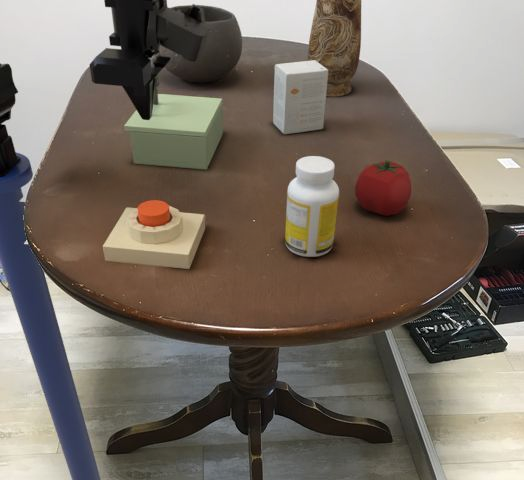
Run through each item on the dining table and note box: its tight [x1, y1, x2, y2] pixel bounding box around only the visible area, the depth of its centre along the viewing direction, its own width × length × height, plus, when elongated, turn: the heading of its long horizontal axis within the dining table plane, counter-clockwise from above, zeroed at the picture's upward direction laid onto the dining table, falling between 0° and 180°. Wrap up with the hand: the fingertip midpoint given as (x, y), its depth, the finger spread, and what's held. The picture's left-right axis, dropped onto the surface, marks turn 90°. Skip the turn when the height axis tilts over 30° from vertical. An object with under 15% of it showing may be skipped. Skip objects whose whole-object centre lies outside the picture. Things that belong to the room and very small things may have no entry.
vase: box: [307, 0, 362, 97], centre depth 114 cm, size 10×11×30 cm
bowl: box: [159, 4, 243, 84], centre depth 123 cm, size 18×18×13 cm
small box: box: [272, 60, 328, 135], centre depth 105 cm, size 8×6×10 cm
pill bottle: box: [284, 155, 340, 258], centre depth 75 cm, size 6×6×12 cm
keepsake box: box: [129, 104, 224, 171], centre depth 99 cm, size 12×15×5 cm
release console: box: [102, 205, 206, 270], centre depth 77 cm, size 11×10×4 cm
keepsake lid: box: [123, 79, 223, 137], centre depth 96 cm, size 13×15×5 cm
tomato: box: [354, 160, 412, 217], centre depth 85 cm, size 8×8×7 cm
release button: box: [137, 199, 170, 227], centre depth 76 cm, size 4×4×2 cm
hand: (146, 118), depth 79 cm, fingers closed
